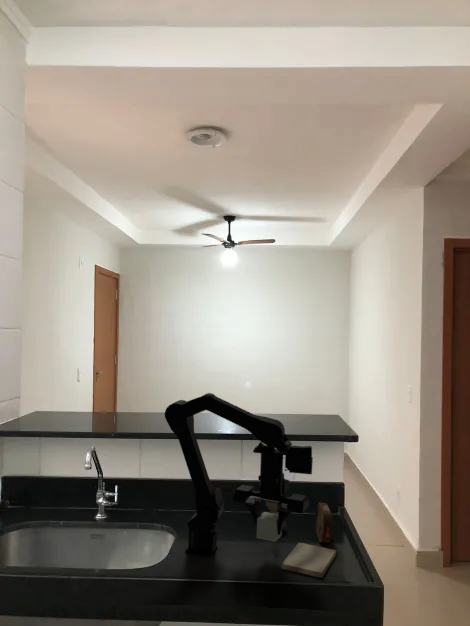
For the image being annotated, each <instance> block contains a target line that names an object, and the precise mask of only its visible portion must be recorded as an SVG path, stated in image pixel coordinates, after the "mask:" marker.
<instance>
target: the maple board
mask: <svg viewBox="0 0 470 626" xmlns="http://www.w3.org/2000/svg"><path fill="white" fill-rule="evenodd" d="M336 555H337V550H336V549H332V548H327V547H323V546H318V545H314V544H307V543H303V542H298V543H297V544H296V546H295V547H294V548H293V550H291V552H290V553H289V554H288V556H286V558H285V559H284V560H283V562H282V563H281V569H282V570H285V571H291V572H295V573H300V574H304V575H308V576H311V577H316V578H321V579H322V578H323V577H324V576H325V573H326V571H327V570H328V569H329V567H330V566H331V564H332V562H333V560H334V558H335V557H336Z"/></svg>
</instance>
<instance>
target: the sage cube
mask: <svg viewBox="0 0 470 626" xmlns="http://www.w3.org/2000/svg"><path fill="white" fill-rule="evenodd" d="M282 535H283V531H282V532H281V534H280V535H278V513H276V514H273V513H270V512H267V511H264V512H261V515H260V516H259V517H258V518H257V526H256V539H259V540H264V541H270V542H273V543H276V542H277V541H278V540H279V539H280V537H281V536H282Z"/></svg>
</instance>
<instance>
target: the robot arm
mask: <svg viewBox="0 0 470 626" xmlns="http://www.w3.org/2000/svg"><path fill="white" fill-rule="evenodd" d="M205 411H207V412H210V413H212V414H214V415H216V416H218V417H220V418H222V419H224V420H227V421H229V422H231V423H233V424H234V425H236V426H239V427H241V428H242V429H245V430H246V431H248V432H250V434H252V435H253V437H255V438H256V439H257V440H258V441H259V443H258V444H257V445H256V446H255V447H254V448H253V450H252V452H253V454H260V465H259V466H260V471H259V475H258V478H257V479H258V480H257V481H259V491H256V488H255V486H252V485H246V484H242V485H240V486H239V487H237V488H236V489H235V490H233V493H232V501H233V502H238V503H242V504H243V503H244V507H246V508H248V511H249V512H250V515H251V516H252V518H253V521H254V523H255V526H256V527H257V518H258V517H259V516H260V515H261V514H262V504H263V502H266V501H267V502H273V503H277V505H281V508H280V509H278V510H277V514H278V535H280V534H281V532H282V533H283V530H284V529H283V526H284V523H285V521H286V522H287V518H288V516H289V515H291V514H292V513H296V514H304V512H305V511H306V510H307V509H309V506H310V499H309V497H308V495H306V494H305V495H303V494H300V493H293V494H292V495H290V497H289V496H284V495H286V494H287V493H289V487H290V479H286V478H285V473H284V470H283V469H284V468H285V469H286V471H288V472H289V473H290V474H292V473H293V474H302V475H313V474H312V473H313V463H314V462H313V459H314V458H313V447H312V445H304V446H303V445H302V446H300V445H293V443H292V442H291V440H290V439H289V437H288V436H287V434H286V433H285V432H286V431H285V427H284V424H283V423H282V421H280V420H278V419H275V418H271V417H269V416H264V415H257V414H254V413H252V412H250V411H249V410H245V409H243V408H241V407H239V406H237V405H236V404H233V403H231V402H229V401H226V400H225V399H222V398H220V397H218V396H217V395H215V394H214V393H212V392H211V393H210V392H207V393H205V394H203V395H201V396H199V397H195V398H193V399H190V400H188V401H186V400H184V399H179V400H177V401H174V402H173V403H171V404H169V405H168V406H166V409H165V410H164V418H165V421H166V422H167V425H168V426H169V428H170V430H171V431H172V432H173V434H174V435H175V436H176V438H177V440H178V441H179V442H178V443H179V444H180V448H181V452H182V454H183V457H184V458H183V459H184V460H185V465H186V467H187V470H188V473H189V476H190V479H191V482H192V485H193V489H194V506H195V512H194V513H193V515H191V518H190V519H189V520H188V522H187V527H188V543H187V545H188V546H187V547H186V548H185V549H184V551H185V552H187V553H190V554H195V555H199V556H202V557H203V556H204V557H208V556H210V555H211V554H212V553H213V552H215V550H216V549H218V548H219V547H218V544H217V543H218V533H217V531H216V526H217V525H214V524H215V523H216V522H217V521H218V520H219V518H220V516H221V515H222V513H223V511H224V507H225V506H224V504H225V502H226V499H224V498H223V495H222V489H221V487H220V486H219V487H217V488H216V487H215V486H214V485H213V484H212V483H211V480H210V476H209V473H208V471H207V468H206V464H205V462H204V458H203V455H202V453H201V452H202V451H201V449H200V446H199V443H198V440H197V436H196V433H195V417H194V416H195V415H197V414H200V413H202V412H205ZM284 456H285V458H284Z"/></svg>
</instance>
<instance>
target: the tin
mask: <svg viewBox="0 0 470 626" xmlns="http://www.w3.org/2000/svg"><path fill="white" fill-rule="evenodd" d="M314 520H315V523H314V524H315V526H314V527H315V533H316V536H317V539H318V542H319V543H324V544H325V543H326V544H327V543H328V544H329V543H330V542H331V539H332V528H333V515H332V512H331V509H330V506H329V505H328V503H326V502H320V501H319V502H318V501H317V503H316V509H315V519H314Z"/></svg>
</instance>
